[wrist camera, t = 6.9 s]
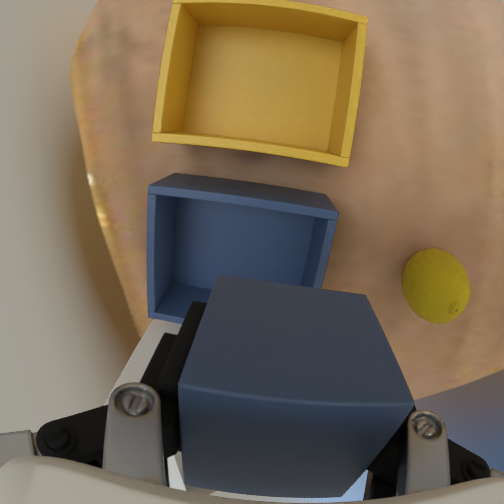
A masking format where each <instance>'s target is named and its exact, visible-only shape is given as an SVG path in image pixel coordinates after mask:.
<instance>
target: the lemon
mask: <svg viewBox="0 0 504 504" xmlns="http://www.w3.org/2000/svg"><path fill="white" fill-rule="evenodd" d="M401 283H402V290H403V294H404V296H405V299H406V301H407V303H408V305H409V306H410V307H411V309H412V310H413V311H414V312H415V313H416V314H417V315H418V316H420V317H421V318H423V319H425V320H427V321H428V322H431V323H437V324H441V323H447V322H449V321H452V320H453V319H455V318H457V317H458V316H459V315H460V314H461V313H462V312H463V310H464V309H465V307H466V305H467V303H468V300H469V297H470V282H469V278H468V276H467V274H466V271H465V269H464V267H463V266H462V265H461V263H460V262H459V261H458V260H457V259H456V258H455V257H454V256H453V255H451V254H450V253H448V252H446V251H444V250H441V249H435V248H429V249H424V250H422V251H419V252H417V253H416V254H415V255H413V256H412V257H411V258H410V259H409V260H408V262H407V264H406V265H405V267H404V270H403V273H402V282H401Z"/></svg>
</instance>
